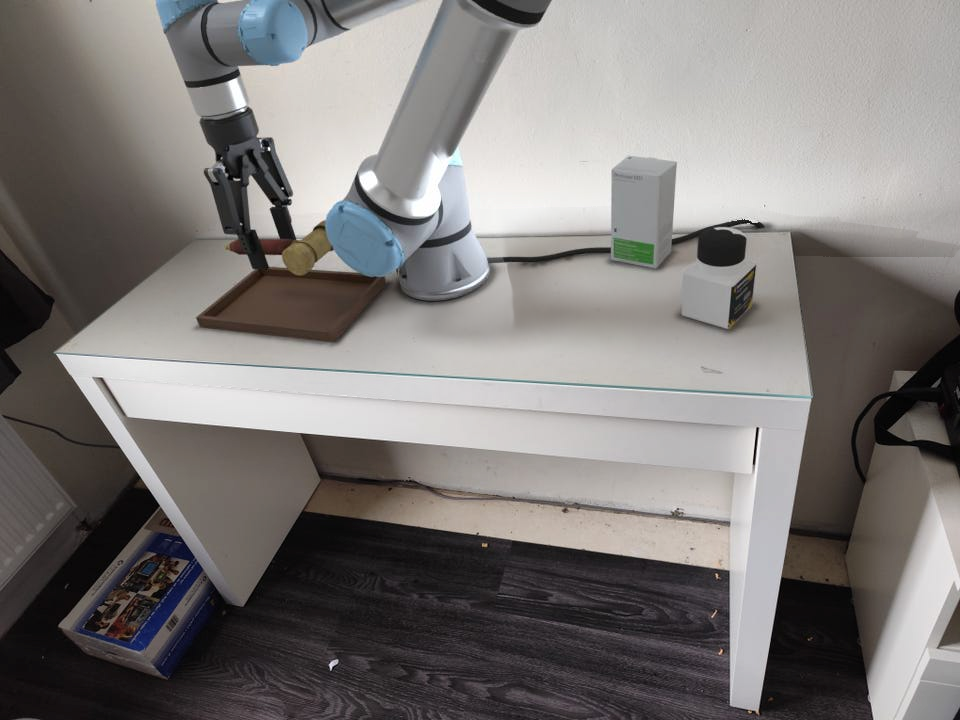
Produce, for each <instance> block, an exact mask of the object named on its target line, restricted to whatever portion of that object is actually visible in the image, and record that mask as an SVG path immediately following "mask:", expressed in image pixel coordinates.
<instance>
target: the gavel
mask: <svg viewBox="0 0 960 720" xmlns="http://www.w3.org/2000/svg"><path fill="white" fill-rule="evenodd" d="M325 222H326V219H325V220H322V221H320V222H319V223H318V224H317V225H315V226H314V227H313V228H312V231H311V232H310V233H308V234H307V235H305V236H304V237H303V238H302V239H300V240H299V239H297V240H292V239H280V238H259V241H260V243H261V246H262V249H263V252H264V254H265V256H281V259H282V263H283V265H284V267H285V268H287V269H288V270H289V271H290V272H292V273H293V274H295V275H299V276H302V275H305V274H306V273H307V272H309V271H310V270H313V268H314V267H315V265H316V263H317V262H319V261H320V260H321V259H322V258H324V256H326V255H327V254H328V253H329V252H333V251H334V249H333V246H332V244H331V243H330V242H329V240H328V237H327V234H326V228H325ZM224 249H225V250H227V251H229V252H231V253H232V252H233V253H235V254H237V255H239V256H240V255H243V256H244V255H245V256H248V255H247V253H245V252H244V251H243V249H242V247H241V244H240V241H239V239H238V238H237V239H235V240H233V241H229V243H226V244H224Z"/></svg>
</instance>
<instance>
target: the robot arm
mask: <svg viewBox="0 0 960 720" xmlns="http://www.w3.org/2000/svg"><path fill="white" fill-rule="evenodd" d="M425 1H426V0H233V1H227V2H219V0H155V7H156V11H157V14H158V16H159V20H160V22H161V26H162V32H163V34H164V35H165V36H166V39H167V42H168V45H169V47H170V49H171V52H172V55H173V57H174V60H175V63H176V65H177V67H178V70H179V72H180V75H181V78H182V80H183V83H184V86H185V87H186V91H187V93H188V97H189V98H190V101H191V104H192V106H193V110H194V112H195V114H196V115H197V116H198V117H200V118H199V121H198V122H199V126H200V128H201V131H202V133H203V136H204V139H205V142H206V143H207V144H208V146H210V147H211V148H212V149H213V150H214V156H215V163H214V164H213V165H212V166H211V167H205V168H203V175H204V177H205V179H206V180H207V182H208V184H209V186H210V189H211V193H212V197H213V199H214V204H215V207H216V210H217V214H218V216H219V221H220V224H221V228H222V232H223V234H224V235H232V236H236V237H237V239H239V241H240V244H241V247H242V249H243V251H244V252H245V253H247V255H246V256H247V258H248V261H249V263H250V266H251V268H252V270H255V269H259V270H267V269H268V268H269V267H270V266H269V263H268V260H267V258H266V255H265V254H264V252H263V249H262V246H261V243H260V241H259V239H260V238H259V235H258V233H257V230H256V229H251V217H250V207H249V205H250V204H249V194H248V186H249V185H250V177H252V179H253V180H254V181H255V183H256V184H257V185H258V187H259V188H260V190H261V191H262V192H263V194H264V195H265V197H266V198H267V199H268V201H269V203H271V205H272V206H271V207H270V208H269V212H270V215H271V217H272V221H273V224H274V227H275V229H276V232H277V234H278V239H292V240H298V239H297V237H296V236H297V235H296V234H295V233H296V232H295V230H294V228H293V225H292V224H293V223H292V221H293V219H292V216H291V213H290V210H289V206H291V205H292V204H293V200H292V197H293V196H294V191H293V189H292V186H291V183H290V181H289V179H288V177H287V174H286V172H285V170H284V167H283V165H282V163H281V160H280V158H279V156H278V154H277V151H276V144H275V140H274V138H273V137H272V136H270V137H269V136H267V137H264V136H263V137H262V136H261V137H258V135H259V133H260V128H259V125H258V122H257V119H256V117H255V114H254V110H253V108H252V107H250V106H249V105H250V102H251V101H250V97H249V95H248V91H247V89H246V86H245V83H244V80H243V76H242V74H241V71H240V68H239V67H252V66H253V67H255V66H256V67H257V66H269V67H278V66H280V65H283V64H290V63H294V62H296V61H298V60H300V59H301V57H302V55H303V52H304V51H305V50H306V49H307V48H308V47H311V46H314V45H316V44H319V43H321V42H323V41H326V40H328V39H332V38H334V37H337V36H340V35H342V34H344V33H345V32H349V31H351V30H353V29H355V28H358V27H360V26H363V25H366V24H368V23H370V22H374V21H377V20H378V19H381V18H383V17H386V16H389V15H392V14H394V13H396V12H399V11H402V10H404V9H407V8H410V7H412V6H416V5H418V4H420V3H423V2H425ZM552 1H553V0H441V3H440V5H439V8H438V9H437V13H436V15H435V17H434V19H433V22H432V24H431V26H430V29H429V31H428V34H427V37H426V38H425V40H424V42H423V45H422V48H421V50H420V52H419V54H418V57H417V60H416V62H415V65H414V67H413V69H412V71H411V73H410V76H409V79H408V80H407V83H406V86H405V87H404V91H403V92H402V95H401V97H400V100H399V102H398V105H397V107H396V110H395V112H394V113H393V116H392V118H391V121H390V124H389V126H388V128H387V131H386V133H385V135H384V138H383V140H382V142H381V145H380V147H379V150H378V152H377V153H376V154H372V155H369V156H367V157H366V158H364V159H363V160H362V161H361V163H360V164H359V166H358V169H357V172H356V174H355V175H354V178H353V181H352V183H351V186H350V188H349V190H348V192H347V193H346V195H345V197H344V198H343V199H342V200H339V201H336V203H334V205H332V208H331V209H330V210H329V211H328V213H327V215H326V217H325V220H326V222H325V228H326V234H327V237H328V240H329V242H330V243H331V244H332V246H333V249H334V250H333V251H334V253H335V254H336V255H337V257H339V259H340V260H341V261H342V262H343V263H344V264H346V266H348V267H349V268H350V269H352V270H354V271H355V272H356V273H361V274H363V275H366V276H370V277H374V276H376V277H383V276H385V277H386V276H389V275H390V274H392V273H393V272H395V271H396V276H398V280H399V284H400V288H401V290H402V292H404V294H406V295H407V296H408V297H411V298H413V299H416V300H421V301H427V302H428V301H429V302H433V301H436V302H437V301H446V300H451V299H456V298H460V297H462V296H465V295H468V294H471V293H472V292H474V291H476V290H477V289H478V288H480V287H482V286H483V285H484V284H485V283H486V281H487V280H488V279H489V276H490V274H491V269H490V264H507V263H522V264H523V263H524V264H525V263H526V264H527V263H529V264H530V263H532V264H533V263H544V262H550V261H555V260H559V259H564V258H568V257H569V258H570V257H573V256H580V255H587V254H589V255H590V254H611V246H609V247H608V246H607V247H606V246H605V247H604V246H603V247H602V246H600V247H599V246H597V247H595V246H594V247H583V248H575V249H570V250H565V251H561V252H557V253H552V254H547V255H540V256H491V257H487V255H486V253H485V251H484V249H483V247H482V245H481V244H480V241H479V240H478V238H477V236H476V234H475V232H474V230H473V226H472V219H471V213H470V206H469V200H468V199H469V198H468V194H467V186H466V181H465V174H464V173H465V172H464V163H463V162H462V159H461V153H460V149H459V145H460V143H461V141H462V139H463V137H464V135H465V133H466V131H467V130H468V128H469V126H470V124H471V123H472V120H473V118H474V117H475V115H476V113H477V111H478V109H479V107H480V105H481V103H482V102H483V99H484V97H485V96H486V94H487V91H488V90H489V88H490V86H491V84H492V83H493V81H494V79H495V77H496V76H497V75H496V74H497V73H498V71H499V69H500V67H501V66H502V64H503V61H504V60H505V58H506V56H507V54H508V52H509V50H510V48H511V46H512V44H513V43H514V41H515V39H516V37H517V35H518V33H519V31H521V30H527V29H529V28H533V27H536V26H538V25H539V24H540V22H541V21H542V19H543V17H544V15H545V14H546V12H547V10H548V9H549V6H550V5H551V4H552V3H551V2H552ZM235 179H236V180H235ZM741 219H742V218H741ZM736 220H737V219H736ZM730 221H731V222H729V221H725V222H722V223H718V224H714V225H710V226H706V227H704V228H701V229H698V230H695V231H693V232H690V233H688V234H685V235H682V236H678V237H675V238H672V244H671V246H674V245H677V244H680V243H681V244H682V243H684V242H689V241H691V240H694V239H696V238H698V237H699V236H700V235H701V234H702V233H703V232H704V231H706V230H708V229H712V228H717V227H728V228H733V227H736V226H740V225H748V224H747V223H750V224H749V225H752V226H754V227H756V228H757V229H764V228H765V225H764V224H763V223H762V222H760V221H759V222H758V223H752V222H751V221H749V220H745V219H744V220H743V219H742V220H737V221H733V220H730Z"/></svg>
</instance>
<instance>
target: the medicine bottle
mask: <svg viewBox="0 0 960 720" xmlns="http://www.w3.org/2000/svg"><path fill="white" fill-rule="evenodd" d="M747 240H748V238H747V236H746V235H745V233H743V231H741V230H740V229H737V228H734V227H729V228H728V227H717V228H712V229H708V230H706V231H704V232H703V233H702V234H701V235H700V236H698V237H697V248H696V251H697V252H696V261H695V262H693V264H692V265H690V266H689V267H688V268H687V269H686V270H685V271H683V273H682V292H681V293H682V296H681V316H682V317H685V318H688V319H692V320H695V321H698V322H702V323H705V324H709V325H712V326H715V327H718V328H721V329H725V330H729V329H731V328H732V327H733V326H734V325H735V324H736V323H737V321H738V320H739V319H740V318H741V317H743V315H745V313H746V312H747V311H748V310H749V309H750V308H752V305H753V299H754V289H755V280H756V273H757V272H756V271H757V262H756V261H754V260H750V259H746V252H747V251H746V250H747V242H748V241H747Z"/></svg>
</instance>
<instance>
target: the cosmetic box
mask: <svg viewBox="0 0 960 720" xmlns="http://www.w3.org/2000/svg"><path fill="white" fill-rule="evenodd" d="M677 166H678V161H674V160H667V159H660V158H655V157H649V156H648V157H644V156H637V155H626V156H625V158H623V159H622V160H621V161H620V162H619V163H617V164H616V165H615V166H614V167H612V168H611V182H610V183H611V184H610V185H611V187H610V188H611V191H610V192H611V193H610V195H611V197H610V198H611V199H610V201H611V202H610V203H611V205H610V247H611V253H610V260H611V261H613V262H620V263H624V264H630V265H635V266H639V267H645V268H649V269H655V270H657V268H658V267H660V265H661V264H662V263H663V262H664V261H665V259H666V258H667V257H668V256H669V255H670V254H671V253H672V245H671V244H672V239H673V229H674V227H673V226H674V215H675V214H674V213H675V210H674V209H675V198H676V182H677V169H678V167H677Z"/></svg>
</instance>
